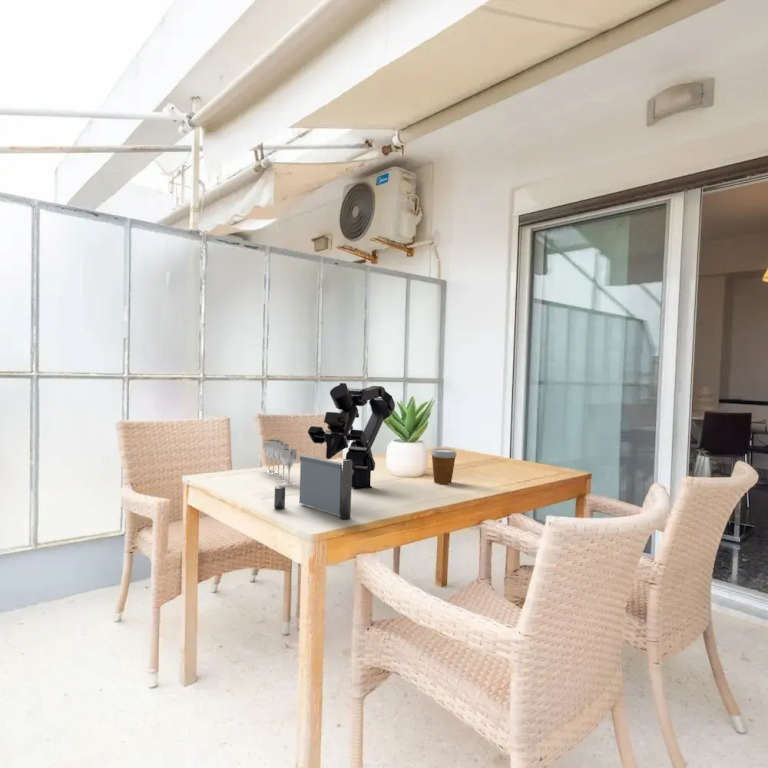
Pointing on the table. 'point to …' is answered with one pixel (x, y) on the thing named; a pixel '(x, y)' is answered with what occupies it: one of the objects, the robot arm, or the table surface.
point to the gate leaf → (320, 484)
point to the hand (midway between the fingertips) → (327, 458)
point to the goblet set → (280, 456)
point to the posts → (345, 491)
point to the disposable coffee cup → (443, 465)
